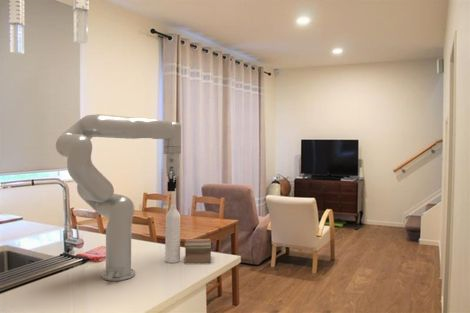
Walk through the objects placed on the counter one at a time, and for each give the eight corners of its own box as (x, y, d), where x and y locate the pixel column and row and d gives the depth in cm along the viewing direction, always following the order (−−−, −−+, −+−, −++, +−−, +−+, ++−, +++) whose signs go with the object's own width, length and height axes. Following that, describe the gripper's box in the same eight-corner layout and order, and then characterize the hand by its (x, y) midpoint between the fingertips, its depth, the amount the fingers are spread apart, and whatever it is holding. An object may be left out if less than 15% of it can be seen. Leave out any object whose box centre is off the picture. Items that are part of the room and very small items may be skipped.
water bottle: (173, 257, 174) (174, 203, 173) (182, 260, 170) (183, 204, 169) (157, 261, 168) (158, 205, 167) (167, 265, 163) (167, 207, 162)
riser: (210, 263, 167) (211, 245, 167) (184, 263, 166) (185, 245, 165) (209, 255, 178) (210, 238, 178) (185, 256, 177) (185, 238, 177)
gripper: (180, 151, 159) (179, 192, 159) (181, 150, 176) (181, 187, 177) (161, 151, 158) (161, 192, 159) (165, 150, 175) (165, 187, 176)
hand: (172, 189), depth 168 cm, fingers open, 9 cm apart
